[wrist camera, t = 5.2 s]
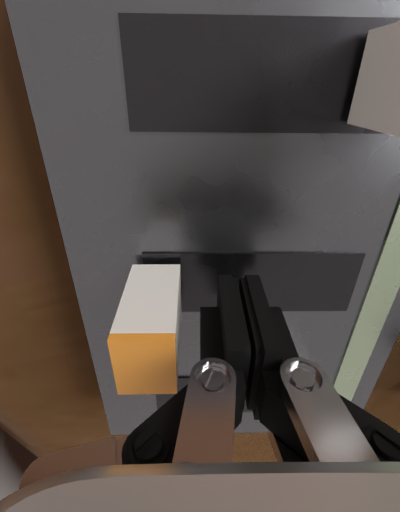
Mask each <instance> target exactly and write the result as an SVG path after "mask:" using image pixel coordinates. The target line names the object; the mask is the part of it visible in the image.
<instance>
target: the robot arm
mask: <svg viewBox="0 0 400 512" xmlns="http://www.w3.org/2000/svg"><path fill="white" fill-rule="evenodd" d="M245 399H246V406H247V410H252V411H253V416H254V420H259V421H260V423H261V424H263V425H264V426H265V427H266V428H267V429H268V436H269V439H270V442H271V445H272V448H273V451H274V454H275V457H276V459H277V462H238V463H233V446H234V430H235V429H236V428H237V427H238V426H239V425H240V423H241V422H242V414H243V410H244V405H245ZM0 512H400V433H398V432H397V431H396V430H394V429H393V428H391V427H390V426H388V425H387V424H385V423H384V422H382V421H380V420H379V419H377V418H376V417H374V416H373V415H371V414H370V413H368V412H366V411H365V410H363V409H362V408H360V407H359V406H357V405H355V404H354V403H352V402H351V401H349V400H348V399H346V398H344V397H343V396H341V395H340V394H338V393H337V391H336V390H335V388H334V386H333V385H332V383H331V381H330V380H329V378H328V377H327V375H326V373H325V372H324V371H323V370H322V368H321V367H320V366H318V365H317V364H316V363H315V362H312V361H310V360H308V359H305V358H301V357H299V356H298V353H297V350H296V347H295V345H294V342H293V339H292V337H291V334H290V331H289V329H288V326H287V323H286V321H285V318H284V315H283V312H282V310H281V308H280V307H269V304H268V300H267V297H266V294H265V291H264V288H263V285H262V282H261V279H260V276H259V275H245V277H244V278H240V282H239V286H238V281H237V278H232V275H218V286H217V307H200V361H199V362H197V363H196V364H195V365H194V366H193V368H192V370H191V373H190V377H189V382H188V384H187V385H186V386H185V387H184V388H182V389H181V390H180V391H179V392H178V393H177V394H175V395H174V396H173V397H172V398H171V399H169V400H168V401H167V402H166V403H165V404H164V405H162V406H161V407H160V408H159V409H158V410H157V411H155V412H154V413H153V414H152V415H151V416H150V417H148V418H147V419H146V420H145V421H144V422H143V423H141V424H140V425H139V426H138V427H137V428H136V429H134V430H133V431H132V432H131V433H130V435H129V436H128V437H125V438H121V439H117V440H116V438H115V437H111V438H107V439H103V440H99V441H95V442H90V443H86V444H82V445H78V446H74V447H70V448H66V449H62V450H58V451H54V452H50V453H47V454H45V455H42V456H40V457H39V458H38V459H36V460H35V461H34V462H33V463H31V465H30V466H29V467H28V468H27V470H26V471H25V472H24V475H23V477H22V480H21V482H20V485H19V490H17V491H16V492H14V493H12V494H10V495H9V496H7V497H6V498H4V499H2V500H1V501H0Z"/></svg>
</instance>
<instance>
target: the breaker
mask: <svg viewBox="0 0 400 512" xmlns="http://www.w3.org/2000/svg"><path fill="white" fill-rule="evenodd" d="M347 124H351V125H354V126H358V127H362V128H366V129H370V130H374V131H378V132H381V133H385V134H389V135H393V136H397V137H400V21H398V22H395V23H391V24H388V25H385V26H381V27H378V28H375V29H371V30H369V32H368V36H367V40H366V45H365V49H364V53H363V57H362V62H361V66H360V70H359V74H358V79H357V83H356V87H355V91H354V95H353V100H352V104H351V108H350V112H349V117H348V121H347Z"/></svg>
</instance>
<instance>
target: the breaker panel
mask: <svg viewBox="0 0 400 512" xmlns="http://www.w3.org/2000/svg"><path fill="white" fill-rule="evenodd" d="M4 1H5V5H6V9H7V13H8V17H9V21H10V25H11V29H12V33H13V37H14V41H15V46H16V50H17V54H18V58H19V62H20V66H21V70H22V74H23V78H24V82H25V86H26V90H27V95H28V99H29V103H30V107H31V111H32V115H33V119H34V123H35V127H36V131H37V135H38V139H39V144H40V148H41V152H42V156H43V160H44V164H45V168H46V172H47V176H48V180H49V184H50V189H51V193H52V197H53V201H54V205H55V209H56V213H57V217H58V221H59V225H60V229H61V233H62V238H63V242H64V246H65V250H66V254H67V258H68V262H69V266H70V270H71V274H72V278H73V282H74V287H75V291H76V295H77V299H78V303H79V307H80V311H81V315H82V319H83V323H84V327H85V331H86V336H87V340H88V344H89V348H90V352H91V356H92V360H93V364H94V368H95V372H96V376H97V381H98V385H99V389H100V393H101V397H102V401H103V405H104V409H105V413H106V417H107V421H108V425H109V430H110V434H111V435H128V434H130V433H131V432H132V431H133V430H134V429H136V428H137V427H138V426H139V425H140V424H141V423H143V422H144V421H145V420H146V419H147V418H148V417H150V416H151V415H152V414H153V413H154V412H155V411H157V410H158V409H159V408H160V407H161V406H162V405H164V404H165V403H166V402H167V401H168V400H169V399H171V398H172V397H173V396H174V395H175V394H133V395H118V393H117V388H116V383H115V378H114V373H113V368H112V363H111V358H110V353H109V348H108V343H107V339H108V336H109V333H110V330H111V327H112V324H113V321H114V318H115V315H116V312H117V309H118V306H119V303H120V300H121V297H122V294H123V291H124V288H125V285H126V282H127V279H128V276H129V273H130V270H131V267H132V264H180V275H181V329H180V349H179V369H178V389H177V393H178V392H179V391H180V390H181V389H182V388H184V387H185V386H186V385H187V384H188V382H189V377H190V373H191V370H192V368H193V366H194V365H195V364H196V363H197V362H199V361H200V307H217V286H218V275H232V278H237V281H238V286H239V282H240V278H244V277H245V275H259V276H260V279H261V282H262V285H263V288H264V291H265V294H266V297H267V300H268V304H269V307H280V308H281V310H282V312H283V315H284V318H285V321H286V323H287V326H288V329H289V331H290V334H291V337H292V339H293V342H294V345H295V347H296V350H297V353H298V356H299V357H301V358H305V359H308V360H310V361H312V362H315V363H316V364H317V365H318V366H320V367H321V368H322V370H323V371H324V372H325V373H326V375H327V377H328V378H329V380H330V381H331V383H332V385H333V386H334V388H335V390H336V391H337V393H338V394H340V395H341V396H343V397H344V398H346V399H348V400H349V401H351V402H352V403H354V404H355V405H357V406H359V407H360V408H362V409H363V410H364V408H365V406H366V403H367V401H368V399H369V397H370V395H371V393H372V391H373V388H374V386H375V384H376V382H377V380H378V378H379V376H380V373H381V371H382V369H383V367H384V365H385V363H386V361H387V358H388V356H389V354H390V352H391V350H392V348H393V346H394V344H395V341H396V339H397V337H398V335H399V333H400V137H397V136H393V135H389V134H385V133H381V132H378V131H374V130H370V129H366V128H362V127H358V126H354V125H351V124H347V121H348V117H349V112H350V108H351V104H352V100H353V95H354V91H355V87H356V83H357V79H358V74H359V70H360V66H361V62H362V57H363V53H364V49H365V45H366V40H367V36H368V32H369V30H371V29H375V28H378V27H381V26H385V25H388V24H391V23H395V22H398V21H400V0H4ZM258 432H268V429H267V428H266V427H265V426H264V425H263V424H261V423H260V421H259V420H254V416H253V411H252V410H247V406H246V399H245V405H244V410H243V414H242V422H241V423H240V425H239V426H238V427H237V428H236V429H235V430H234V433H258Z"/></svg>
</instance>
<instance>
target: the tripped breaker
mask: <svg viewBox="0 0 400 512" xmlns="http://www.w3.org/2000/svg"><path fill="white" fill-rule="evenodd" d="M180 329H181V275H180V264H132V267H131V270H130V273H129V276H128V279H127V282H126V285H125V288H124V291H123V294H122V297H121V300H120V303H119V306H118V309H117V312H116V315H115V318H114V321H113V324H112V327H111V330H110V333H109V336H108V339H107V343H108V348H109V353H110V358H111V363H112V368H113V373H114V378H115V383H116V388H117V393H118V395H133V394H177V389H178V369H179V349H180Z"/></svg>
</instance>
